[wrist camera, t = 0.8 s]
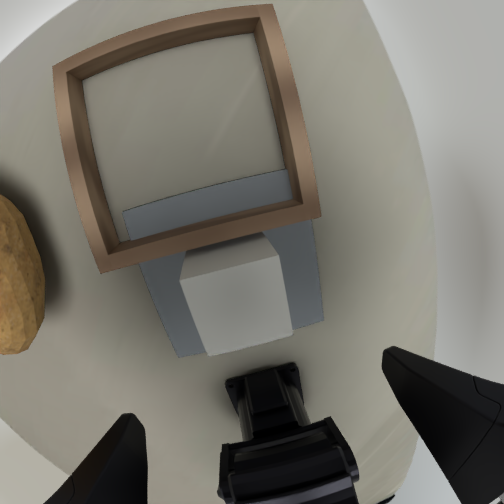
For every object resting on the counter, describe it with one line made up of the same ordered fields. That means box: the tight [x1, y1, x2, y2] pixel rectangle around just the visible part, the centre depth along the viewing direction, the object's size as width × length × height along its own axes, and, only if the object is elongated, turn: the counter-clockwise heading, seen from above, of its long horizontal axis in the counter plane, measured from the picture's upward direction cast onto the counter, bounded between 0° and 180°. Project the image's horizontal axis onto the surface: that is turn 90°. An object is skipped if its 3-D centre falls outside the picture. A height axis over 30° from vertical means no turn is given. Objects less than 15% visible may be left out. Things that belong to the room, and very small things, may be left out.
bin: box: [52, 4, 321, 274], centre depth 15 cm, size 14×14×2 cm
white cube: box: [179, 231, 293, 357], centre depth 17 cm, size 5×5×5 cm
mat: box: [122, 169, 324, 358], centre depth 19 cm, size 12×12×1 cm
